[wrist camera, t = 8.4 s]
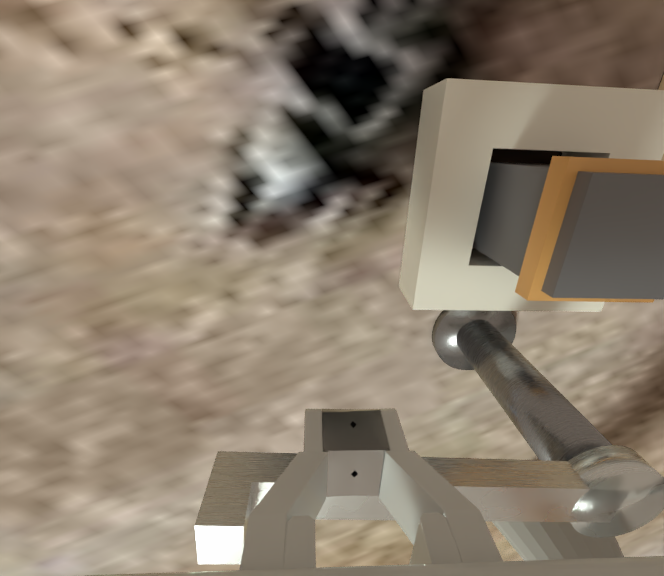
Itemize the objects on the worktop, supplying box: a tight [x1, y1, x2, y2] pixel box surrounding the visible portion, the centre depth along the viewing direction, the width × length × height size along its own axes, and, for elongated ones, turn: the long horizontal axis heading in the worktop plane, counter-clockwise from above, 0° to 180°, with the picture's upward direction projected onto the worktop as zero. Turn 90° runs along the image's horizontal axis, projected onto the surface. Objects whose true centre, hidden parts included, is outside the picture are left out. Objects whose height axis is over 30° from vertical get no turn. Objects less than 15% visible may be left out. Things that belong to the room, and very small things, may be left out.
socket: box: [399, 78, 664, 312], centre depth 17 cm, size 10×10×3 cm
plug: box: [473, 156, 664, 302], centre depth 14 cm, size 5×5×8 cm
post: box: [432, 310, 612, 461], centre depth 17 cm, size 5×5×10 cm
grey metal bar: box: [195, 445, 664, 564], centre depth 10 cm, size 15×3×2 cm, turn 84°
